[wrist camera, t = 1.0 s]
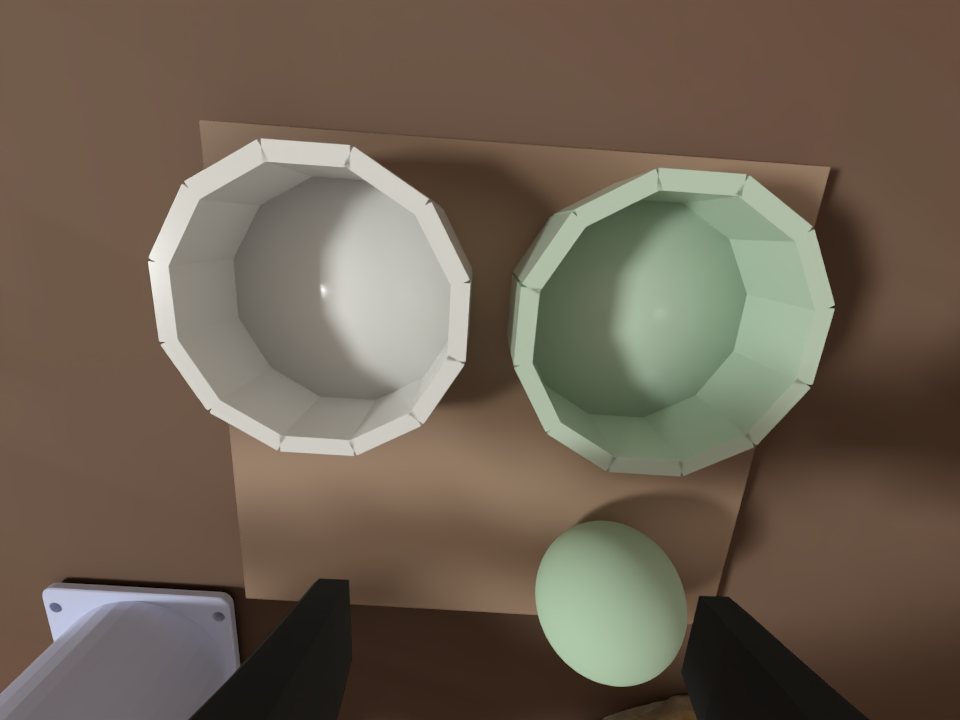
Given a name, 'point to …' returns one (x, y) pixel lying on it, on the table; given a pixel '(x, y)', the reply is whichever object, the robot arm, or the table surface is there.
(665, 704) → the pastry
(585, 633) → the ball
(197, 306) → the cup grey
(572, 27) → the table surface
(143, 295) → the table surface
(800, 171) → the board
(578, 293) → the cup green
